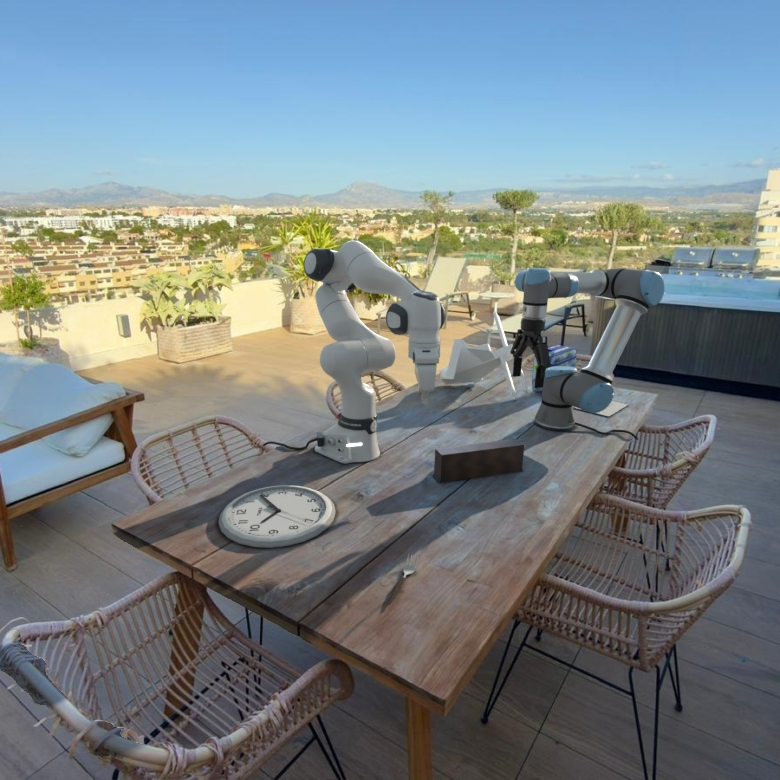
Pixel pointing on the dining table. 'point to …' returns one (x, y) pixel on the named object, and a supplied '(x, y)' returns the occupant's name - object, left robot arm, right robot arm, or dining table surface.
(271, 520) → the wall clock
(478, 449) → the walnut beam
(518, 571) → the dining table surface
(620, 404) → the invitation card
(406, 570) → the fork
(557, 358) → the lunch box
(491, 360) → the white plastic object
